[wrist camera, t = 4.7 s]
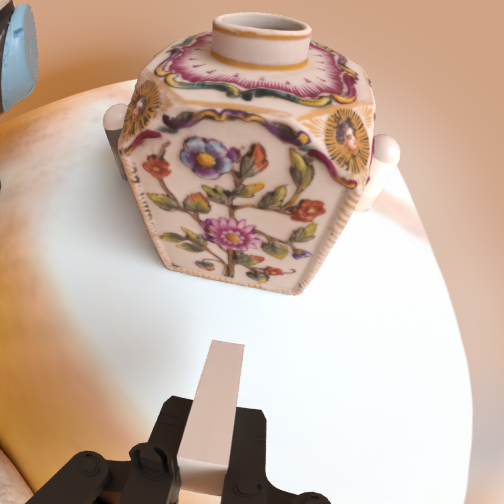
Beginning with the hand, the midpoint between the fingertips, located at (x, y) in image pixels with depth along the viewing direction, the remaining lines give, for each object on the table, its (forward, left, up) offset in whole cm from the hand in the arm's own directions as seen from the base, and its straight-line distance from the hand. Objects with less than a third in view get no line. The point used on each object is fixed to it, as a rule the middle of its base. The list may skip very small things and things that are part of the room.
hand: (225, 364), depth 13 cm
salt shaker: (+7, +20, -7) cm, 22 cm away
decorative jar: (-3, +13, -8) cm, 15 cm away
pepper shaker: (-16, +16, -7) cm, 24 cm away
